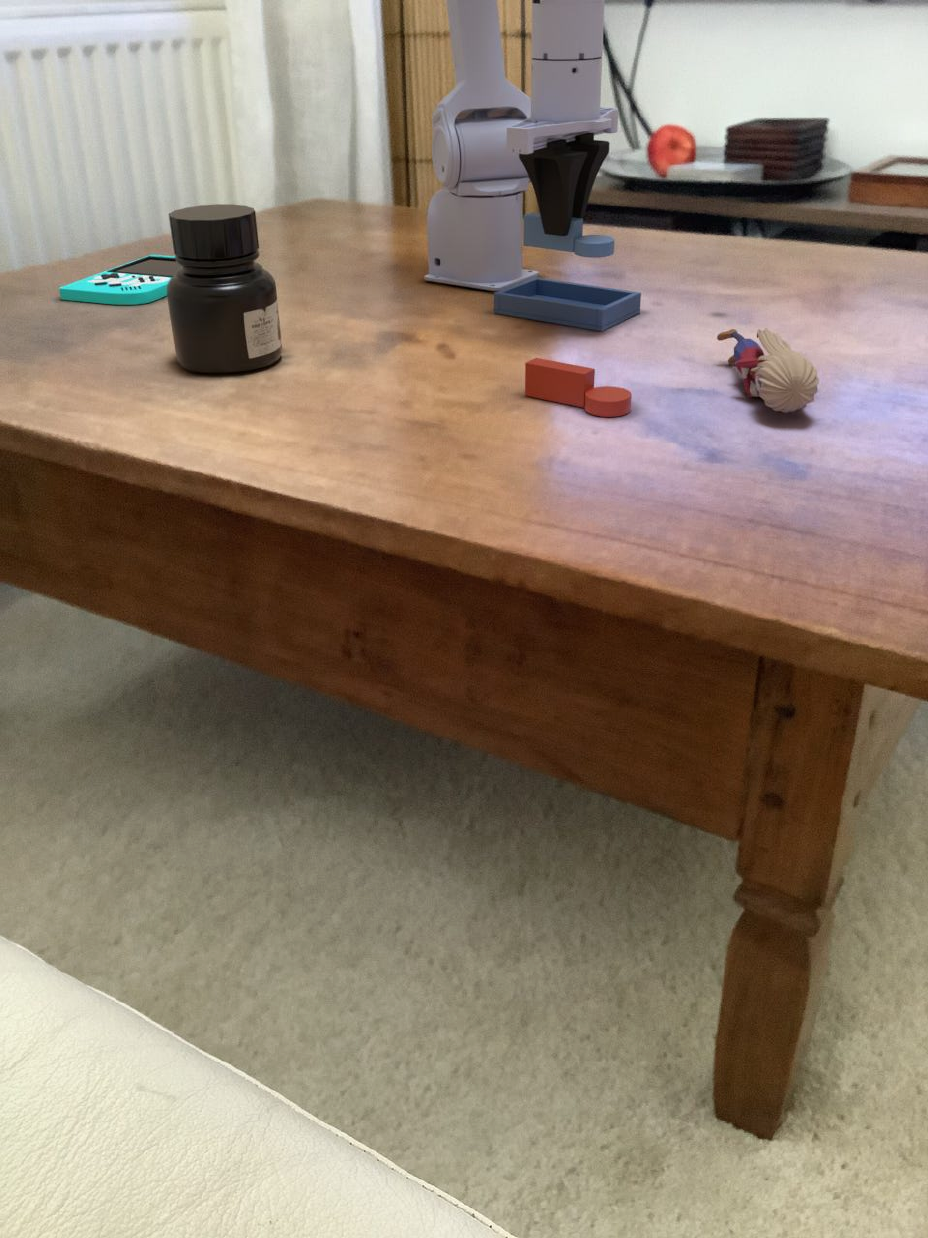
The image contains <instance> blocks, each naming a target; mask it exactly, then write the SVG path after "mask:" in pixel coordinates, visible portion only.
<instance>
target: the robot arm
mask: <svg viewBox="0 0 928 1238" xmlns="http://www.w3.org/2000/svg"><path fill="white" fill-rule="evenodd" d="M605 1H606V0H531V52H530V53H531V54H530V55H531V64H530V96H528V95H527V94H526V93H525V92H523V91H522V90H521V89H519V88H518V87H517V86H516V85H514V84H513V83H512V82H511V81H509V80H508V79H507V78H506V73H505V72H506V71H505V61H504V51H503V42H502V34H501V26H500V25H501V23H500V15H499V7H498V0H445V5H446V11H447V12H446V13H447V21H448V30H449V37H450V45H451V46H450V47H451V54H452V63H453V71H454V79H455V80H454V81H455V86H454V87H453V88H452V89H451V90H450V91H449V92H448V93H447V94H446V95H445V96H444V97H443V98H442V99H441V100H440V101H439V102H438V104H437V105H436V106H435V108H434V111H433V114H432V117H431V125H432V126H431V127H432V142H431V158H432V159H431V160H432V165H433V170H434V175H435V176H436V177H435V178H436V179H437V181H438V182H439V183H440V184H441V186H442V188H440V189H438V190H437V191H436V192H435V193H434V194H433V195H432V197H431V199H430V202H429V204H428V208H427V213H426V215H427V216H426V233H427V235H426V237H427V259H428V260H427V263H428V264H427V265H428V273H427V274H424V276H423V278H424V281H427V282H432V283H433V282H434V283H439V284H446V285H453V286H458V287H459V286H460V287H466V288H472V289H477V290H484V291H490V292H498V291H500V290H503V289H506V288H508V287H511V286H513V285H516V284H518V283H521V282H524V281H526V280H529V279H531V278H534V277H539V276H540V272H539V271H538V270H532V269H525V268H523V236H524V214H523V213H524V212H523V211H524V210H523V209H524V207H523V206H524V195H523V194H524V192H526V191H529V189H530V183H531V186H532V188H533V191H534V194H535V198H536V202H537V206H538V211H539V213H540V216H541V221H542V225H543V229H544V233H545V234H548V235H556V236H567V235H568V232H569V229H570V224H571V220H572V217H574V218H582V219H583V220H584V219H585V216H586V212H587V207H588V205H589V200H590V197H591V193H592V189H593V188H594V185H595V181H596V179H597V176H598V174H599V172H600V169H601V168H602V166H603V164H604V162H605V160H606V158H607V157H608V155H609V153H610V142H609V141H608V140H602V139H601V140H599V139H595V136H599V135H603V134H615V133H618V128H619V127H618V125H619V108H617V107H615V108H614V107H601V96H602V74H603V73H602V72H603V52H604V51H603V49H604V28H605V27H604V26H605Z"/></svg>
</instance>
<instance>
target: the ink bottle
mask: <svg viewBox="0 0 928 1238" xmlns="http://www.w3.org/2000/svg"><path fill="white" fill-rule="evenodd" d="M168 220H169V227H170V234H171V241H172V247H173V253H174V256H175V260H176V262H177V263H178V264H180V265H182V267H180V268H179V269H178V270H177V271H176V275H175V276H173V277H172V278H171V279H170V281H169V282H168V285H167V296H166V297H167V305H168V312H169V319H170V325H171V330H172V338H173V344H174V345H173V346H174V352H175V357H176V361H177V363H178V364H179V365H180V366H181V367H182V368H184V369H185V370H187V371H191V372H194V373H202V374H231V373H240V372H249V371H254V370H259V369H262V368H266V367H268V366H270V365H273V364H274V363H275V362H277V361H278V360H279V359H280V357H281V356H282V354H283V341H282V332H281V322H280V321H281V320H280V311H279V302H278V292H277V285H276V284H277V283H276V280H275V278H274V277H273V275H272V274H271V272H269V271H268V270H266V269H264V268H263V266H262V265H261V263H259V262H257V261H256V260H257V259H258V258H259V257H260V250H259V249H260V242H259V233H258V232H259V231H258V223H257V213H256V210H255V208H254V207H252V206H248V205H243V204H242V205H241V204H234V203H232V204H231V203H229V204H225V203H224V204H221V203H217V204H204V205H202V204H201V205H194V206H189V207H188V206H186V207H183V208H179V209H175V210H173V211H171V212H169V213H168Z"/></svg>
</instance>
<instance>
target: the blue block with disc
mask: <svg viewBox="0 0 928 1238" xmlns="http://www.w3.org/2000/svg"><path fill="white" fill-rule="evenodd" d="M583 229H584V219H582V218H574V217H572V220H571V224H570V229H569V232H568V235H567V236H556V235H548V234H545V233H544V229H543V225H542V221H541V216H540V212H530V213H528V214H523V238H522V246H524V247H530V248H531V247H532V248H537V249H538V248H539V249H545V250H552V251H560V252H567V253H574V255H576V256H577V257H582V258H593V259H595V258H596V259H597V258H607V257H611V256H613V255H614V254H615V242H616V241H615V238H614V237H612V236H609V235H603V234H584V235H583V231H584V230H583Z"/></svg>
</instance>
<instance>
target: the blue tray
mask: <svg viewBox="0 0 928 1238" xmlns="http://www.w3.org/2000/svg"><path fill="white" fill-rule="evenodd" d="M641 298H642V293H641V292H639V291H632V290H625V289H618V288H612V287H605V286H599V285H591V284H585V283H578V282H571V281H564V280H557V279H551V278H544V277H539V276H537V277H534V278H531V279H529V280H526V281H524V282H521V283H518V284H516V285H513V286H511V287H508V288H506V289H503V290H500V291H494V292H493V314H496V315H497V314H498V315H502V316H503V315H504V316H509V317H515V318H521V319H527V320H531V321H532V320H533V321H539V322H544V323H551V324H556V325H563V326H568V327H573V328H580V329H587V330H592V331H597V332H598V331H599V332H603V331H605V330H608V329H610V328H612V327H614V326H616V325H618V324H619V323H622V322H624V321H626V320H628V319H630V318H632V317H634V316H636V315H638V314H641V301H642V300H641Z"/></svg>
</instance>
